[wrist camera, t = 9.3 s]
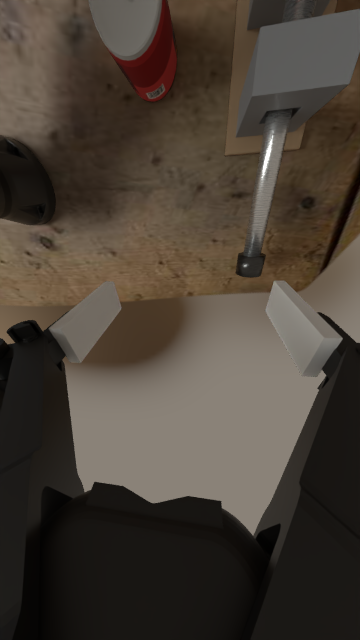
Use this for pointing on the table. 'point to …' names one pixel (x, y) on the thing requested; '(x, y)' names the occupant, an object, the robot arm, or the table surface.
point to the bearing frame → (286, 68)
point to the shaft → (269, 165)
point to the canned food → (139, 42)
